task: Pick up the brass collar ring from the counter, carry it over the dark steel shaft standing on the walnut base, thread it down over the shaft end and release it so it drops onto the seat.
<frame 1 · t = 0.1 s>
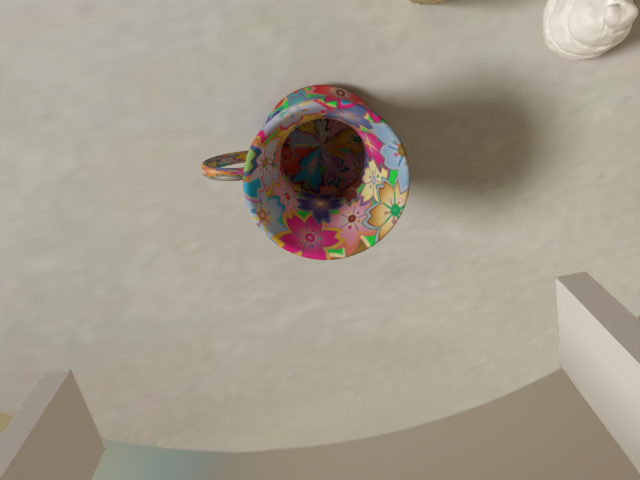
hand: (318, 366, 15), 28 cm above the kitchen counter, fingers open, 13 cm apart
garlic bulb: (574, 17, 39), on the kitchen counter
mug: (302, 142, 41), on the kitchen counter
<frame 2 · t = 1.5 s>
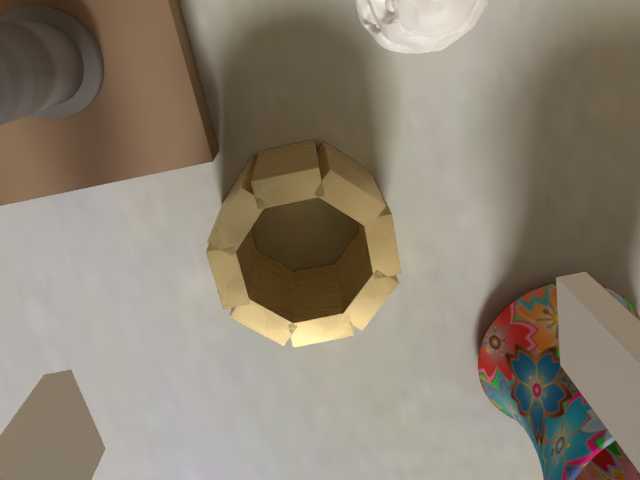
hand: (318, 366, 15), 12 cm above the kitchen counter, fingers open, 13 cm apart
ring: (303, 219, 26), on the kitchen counter
shaft block: (70, 58, 23), on the kitchen counter
mug: (546, 366, 30), on the kitchen counter
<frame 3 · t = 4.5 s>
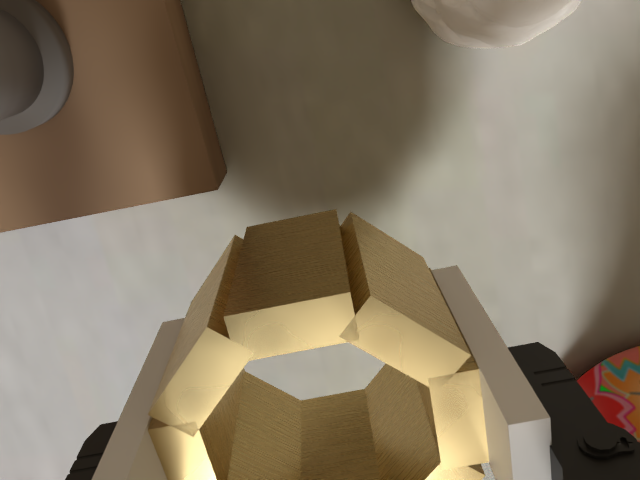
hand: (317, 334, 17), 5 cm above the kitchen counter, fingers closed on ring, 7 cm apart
ring: (317, 328, 17), point 4 cm above the kitchen counter, touching gripper
shaft block: (35, 54, 18), on the kitchen counter
mug: (630, 437, 24), on the kitchen counter
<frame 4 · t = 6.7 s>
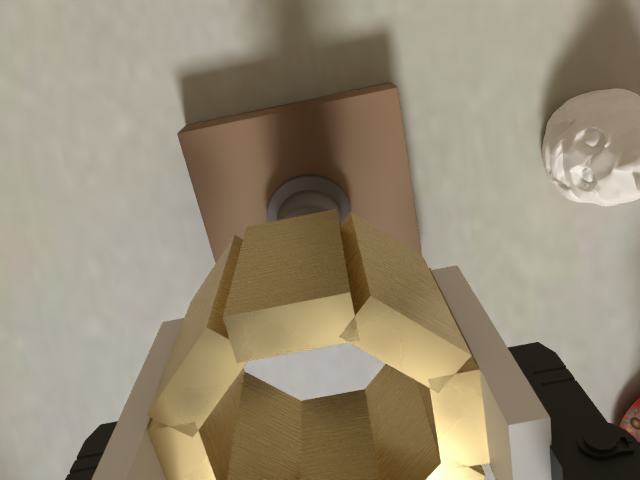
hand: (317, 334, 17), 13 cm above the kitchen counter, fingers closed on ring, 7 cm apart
garlic bulb: (588, 140, 28), on the kitchen counter
ring: (317, 328, 17), point 13 cm above the kitchen counter, touching gripper
shaft block: (308, 202, 29), on the kitchen counter
when the fingers open (5 cm above the kitchen counter, at t = 9.2 s): ring drops 2 cm, resting on shaft block.
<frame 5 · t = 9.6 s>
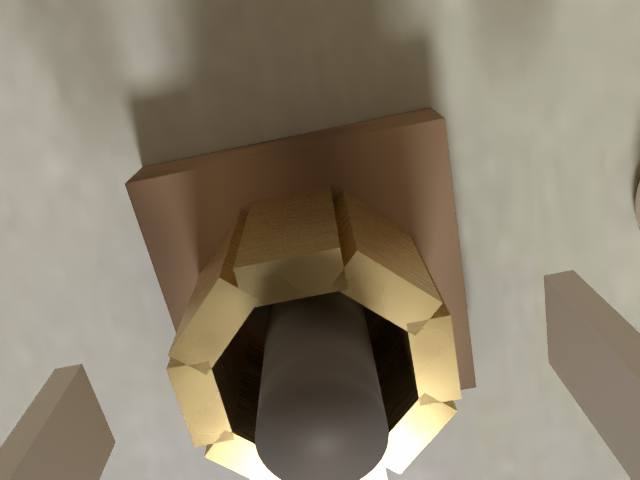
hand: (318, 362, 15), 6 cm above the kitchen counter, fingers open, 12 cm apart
ring: (313, 293, 19), point 2 cm above the kitchen counter, touching shaft block
shaft block: (314, 269, 21), on the kitchen counter
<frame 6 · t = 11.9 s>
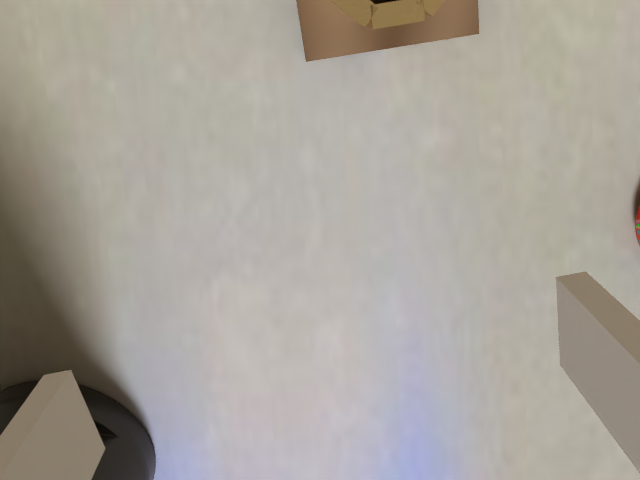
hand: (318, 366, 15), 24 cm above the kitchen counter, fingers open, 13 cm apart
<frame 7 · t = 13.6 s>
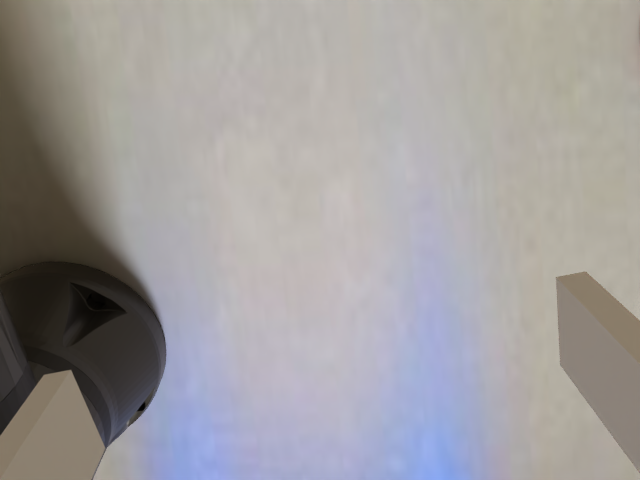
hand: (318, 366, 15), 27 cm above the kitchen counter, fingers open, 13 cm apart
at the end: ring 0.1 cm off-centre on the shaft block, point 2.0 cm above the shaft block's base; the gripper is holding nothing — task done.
